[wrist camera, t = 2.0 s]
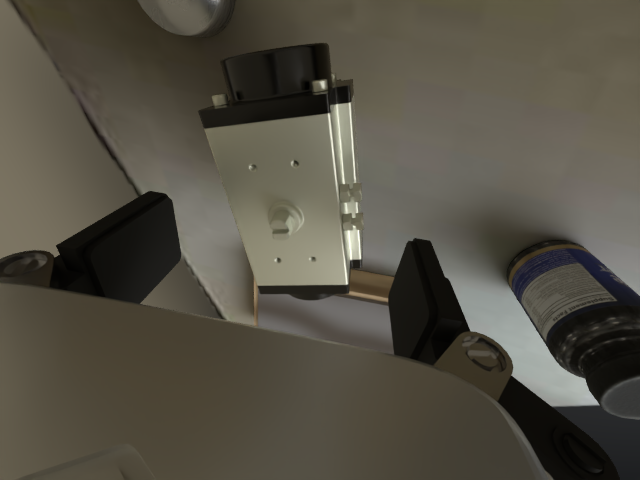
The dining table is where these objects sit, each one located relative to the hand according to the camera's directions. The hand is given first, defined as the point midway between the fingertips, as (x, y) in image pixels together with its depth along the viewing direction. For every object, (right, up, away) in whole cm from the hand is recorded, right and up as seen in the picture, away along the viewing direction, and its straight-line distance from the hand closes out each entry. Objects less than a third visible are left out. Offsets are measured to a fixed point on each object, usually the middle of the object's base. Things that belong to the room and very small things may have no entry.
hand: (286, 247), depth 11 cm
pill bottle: (+21, -2, +13) cm, 24 cm away
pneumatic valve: (+2, +7, +10) cm, 12 cm away
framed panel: (+3, -6, +18) cm, 20 cm away
